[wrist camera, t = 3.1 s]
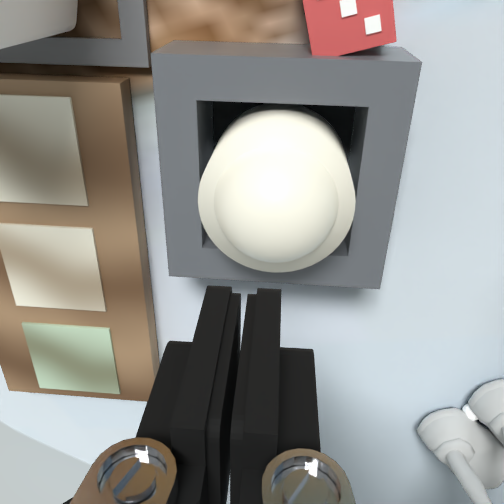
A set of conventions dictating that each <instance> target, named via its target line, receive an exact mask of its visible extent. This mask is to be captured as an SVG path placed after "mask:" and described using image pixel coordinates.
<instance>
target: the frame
mask: <svg viewBox="0 0 504 504" xmlns="http://www.w3.org/2000/svg"><path fill="white" fill-rule="evenodd" d="M117 1H118V10H119V20H120V29H121V38H122V39H116V38H83V37H51V36H49V37H45V38H41V39H37V40H33V41H30V42H26V43H22V44H18V45H14V46H11V47H7V48H3V49H0V62H2V63H31V64H60V65H89V66H118V67H147V68H149V67H150V66H151V54H150V42H149V30H148V18H147V6H146V0H117Z"/></svg>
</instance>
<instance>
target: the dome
mask: <svg viewBox="0 0 504 504" xmlns="http://www.w3.org/2000/svg"><path fill="white" fill-rule="evenodd" d="M355 203H356V200H355V190H354V185H353V181H352V177H351V173H350V169H349V165H348V162H347V158H346V154H345V150H344V147H343V144H342V141H341V139H340V137H339V136H338V134H337V132H336V131H335V129H334V128H333V127H332V125H331V124H330V123H329V122H328V121H327V120H326V119H325V118H323V117H322V116H321V115H319V114H318V113H316V112H314V111H313V110H311V109H309V108H306V107H304V106H301V105H297V104H281V103H267V104H262V105H259V106H256V107H253V108H251V109H249V110H247V111H245V112H244V113H242V114H240V115H239V116H238V117H237V118H235V119H234V120H233V121H232V122H231V123H230V124H229V125H228V126H227V128H226V129H225V130H224V132H223V133H222V135H221V137H220V139H219V141H218V143H217V145H216V147H215V149H214V152H213V154H212V156H211V158H210V160H209V162H208V164H207V166H206V169H205V171H204V173H203V175H202V178H201V181H200V185H199V191H198V208H199V214H200V218H201V221H202V224H203V226H204V229H205V230H206V232H207V234H208V236H209V237H210V239H211V240H212V241H213V243H214V244H215V245H216V246H217V247H218V248H219V249H220V250H221V251H222V252H223V253H224V254H225V255H227V256H228V257H229V258H231V259H233V260H234V261H236V262H238V263H240V264H242V265H244V266H246V267H249V268H252V269H255V270H260V271H265V272H291V271H296V270H300V269H303V268H306V267H309V266H311V265H313V264H316V263H318V262H319V261H321V260H323V259H324V258H326V257H327V256H328V255H329V254H331V253H332V252H333V251H334V250H335V249H336V248H337V247H338V246H339V245H340V243H341V242H342V241H343V239H344V238H345V236H346V235H347V233H348V231H349V229H350V226H351V224H352V221H353V217H354V213H355Z"/></svg>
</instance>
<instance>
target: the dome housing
mask: <svg viewBox="0 0 504 504" xmlns="http://www.w3.org/2000/svg"><path fill="white" fill-rule="evenodd" d="M151 63H152V75H153V87H154V100H155V112H156V124H157V136H158V148H159V160H160V172H161V184H162V196H163V209H164V221H165V233H166V245H167V257H168V269H169V276H176V277H192V278H208V279H224V280H240V281H256V282H272V283H288V284H304V285H321V286H337V287H353V288H369V289H380V285H381V280H382V275H383V269H384V264H385V259H386V253H387V248H388V242H389V237H390V232H391V226H392V221H393V216H394V210H395V205H396V199H397V194H398V189H399V183H400V178H401V172H402V167H403V162H404V156H405V151H406V146H407V140H408V135H409V129H410V124H411V119H412V113H413V108H414V103H415V97H416V92H417V86H418V81H419V76H420V70H421V65H422V62H421V61H420V60H419V59H417V58H416V57H415V56H413V55H412V54H411V53H409V52H408V51H406V50H405V49H404V48H402V47H372V48H368V49H364V50H360V51H356V52H352V53H348V54H344V55H340V56H320V55H312V51H311V45H310V44H278V43H246V42H213V41H181V40H173V41H172V42H170V43H168V44H166V45H164V46H163V47H161V48H159V49H157V50H155V51H154V52H152V53H151ZM212 101H229V102H255V103H281V104H307V105H332V106H356V107H355V115H354V123H353V131H352V139H351V147H350V155H349V163H348V165H349V169H350V173H351V177H352V181H353V185H354V190H355V200H356V203H355V213H354V217H353V221H352V224H351V226H350V229H349V231H348V233H347V235H346V236H345V238H344V239H343V241H342V242H341V243H340V245H339V246H338V247H337V248H336V249H335V250H334V251H333V252H332V253H331V254H329V255H328V256H327V257H326V258H324V259H323V260H321V261H319V262H318V263H316V264H313V265H311V266H309V267H306V268H303V269H300V270H296V271H291V272H265V271H260V270H255V269H252V268H249V267H246V266H244V265H242V264H240V263H238V262H236V261H234V260H233V259H231V258H229V257H228V256H227V255H225V254H224V253H223V252H222V251H221V250H220V249H219V248H218V247H217V246H216V245H215V244H214V243H213V241H212V240H211V239H210V237H209V236H208V234H207V232H206V230H205V229H204V226H203V224H202V221H201V218H200V214H199V208H198V191H199V185H200V181H201V178H202V175H203V173H204V171H205V169H206V166H207V164H208V162H209V160H210V158H211V156H212V154H213V109H212Z"/></svg>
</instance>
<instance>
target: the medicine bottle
mask: <svg viewBox="0 0 504 504" xmlns="http://www.w3.org/2000/svg"><path fill="white" fill-rule="evenodd" d="M77 7H78V0H0V49H3V48H7V47H11V46H14V45H18V44H22V43H26V42H30V41H33V40H37V39H41V38H45V37H49V36H52V35H56V34H60V33H64V32H68V31H71V30H72V29H74V28H75V25H76V22H77Z"/></svg>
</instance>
